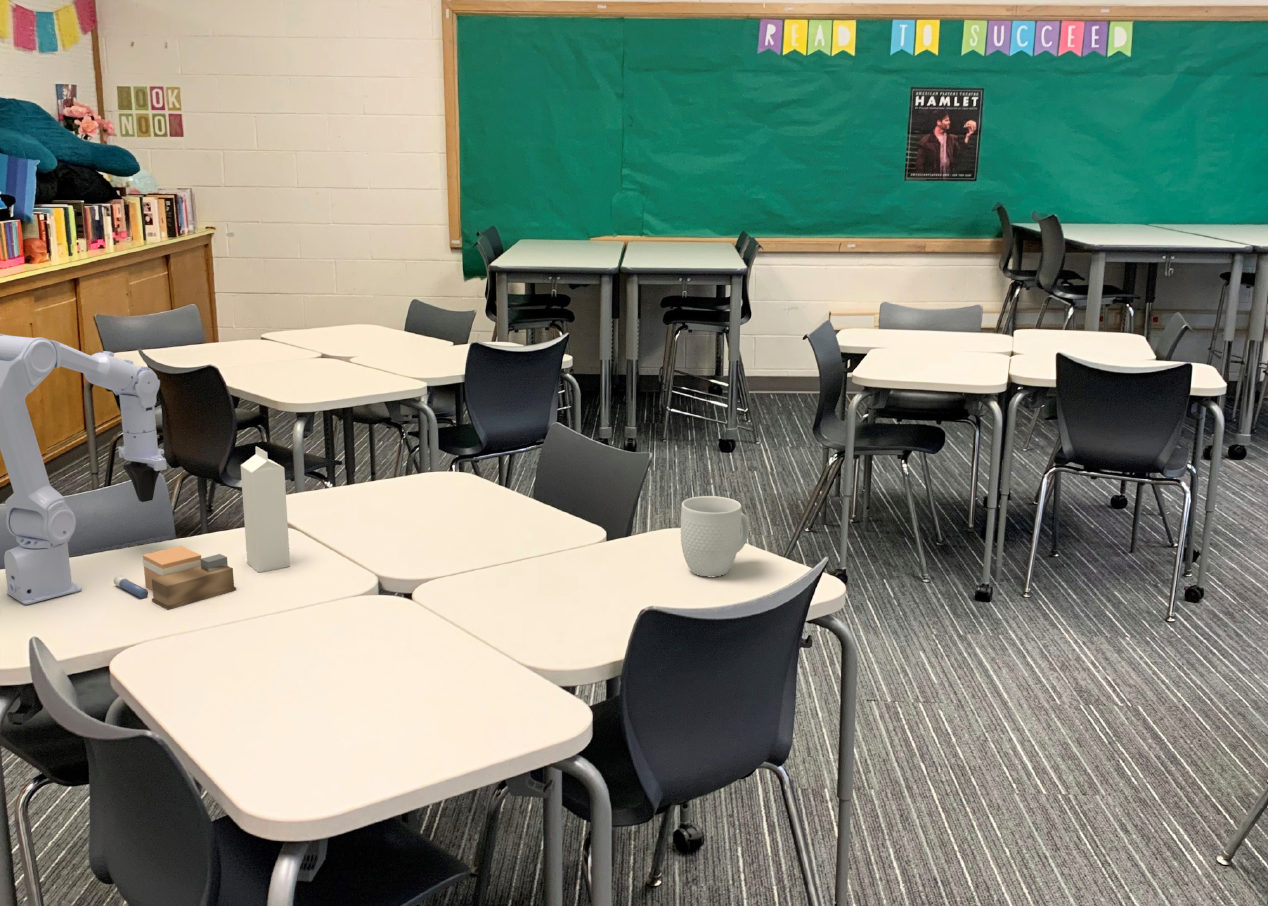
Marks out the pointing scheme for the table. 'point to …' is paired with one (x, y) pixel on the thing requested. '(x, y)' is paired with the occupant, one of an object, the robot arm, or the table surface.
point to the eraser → (214, 562)
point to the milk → (265, 513)
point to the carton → (168, 563)
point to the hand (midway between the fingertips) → (145, 500)
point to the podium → (191, 586)
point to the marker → (130, 587)
